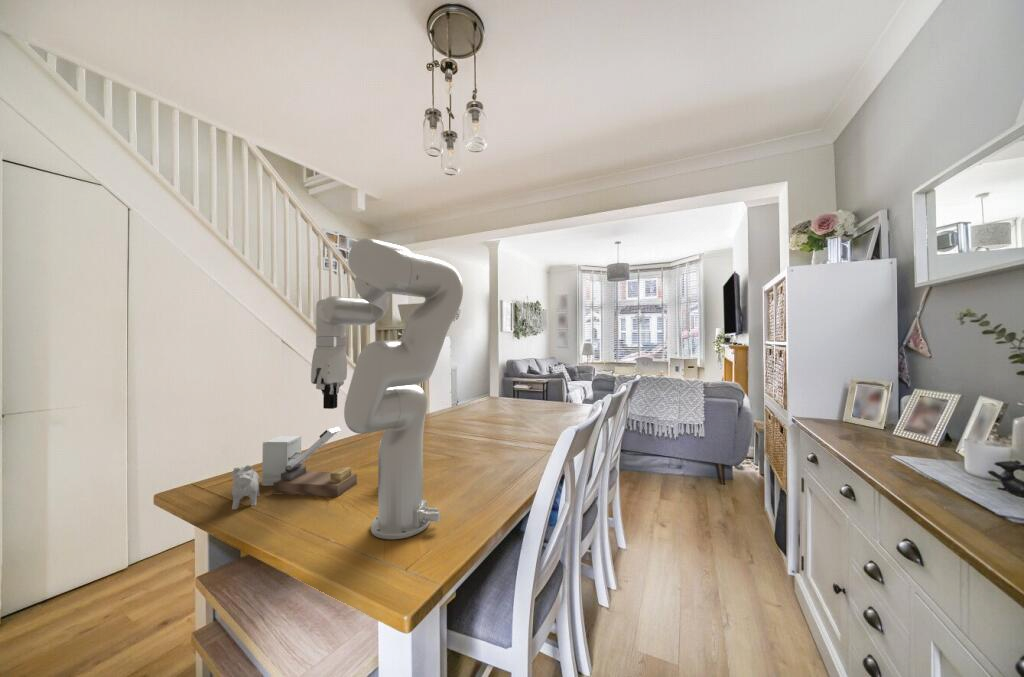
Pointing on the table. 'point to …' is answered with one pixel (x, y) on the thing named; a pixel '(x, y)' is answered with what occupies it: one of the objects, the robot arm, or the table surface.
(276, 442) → the supplement box
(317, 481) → the mount block
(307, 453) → the grey flat bar
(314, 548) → the table surface
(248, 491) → the dog figurine
